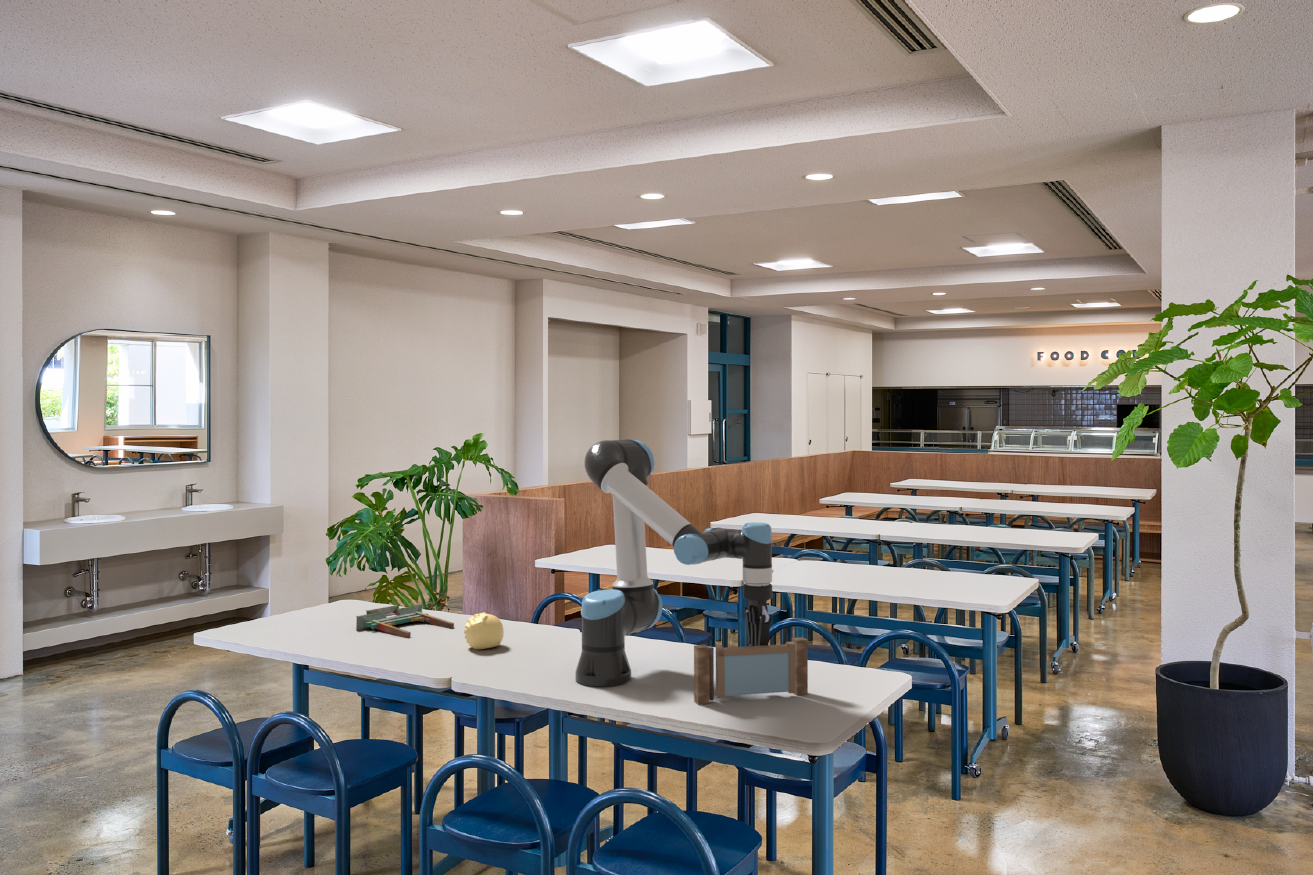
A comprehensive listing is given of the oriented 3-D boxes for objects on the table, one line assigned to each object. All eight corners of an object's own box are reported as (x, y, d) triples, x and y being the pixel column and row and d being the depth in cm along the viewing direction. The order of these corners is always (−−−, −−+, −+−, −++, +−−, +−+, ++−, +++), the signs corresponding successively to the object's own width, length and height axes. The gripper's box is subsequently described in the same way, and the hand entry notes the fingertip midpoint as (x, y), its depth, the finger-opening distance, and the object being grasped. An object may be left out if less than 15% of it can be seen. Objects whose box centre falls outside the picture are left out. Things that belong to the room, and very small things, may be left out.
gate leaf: (718, 698, 237) (718, 648, 236) (715, 695, 239) (715, 645, 239) (795, 693, 241) (795, 644, 240) (791, 690, 243) (791, 641, 243)
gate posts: (698, 704, 235) (697, 648, 235) (694, 701, 238) (693, 645, 238) (807, 694, 243) (807, 639, 243) (802, 691, 246) (802, 637, 246)
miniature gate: (396, 630, 306) (344, 611, 325) (396, 647, 306) (343, 627, 325) (463, 616, 327) (410, 599, 346) (462, 632, 327) (409, 614, 346)
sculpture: (462, 644, 300) (462, 610, 300) (501, 641, 303) (500, 608, 303) (465, 653, 289) (465, 617, 289) (505, 650, 292) (505, 615, 292)
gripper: (781, 586, 240) (781, 679, 240) (761, 578, 252) (761, 667, 253) (753, 588, 238) (754, 682, 238) (734, 580, 250) (735, 669, 250)
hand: (758, 674), depth 245 cm, fingers closed
